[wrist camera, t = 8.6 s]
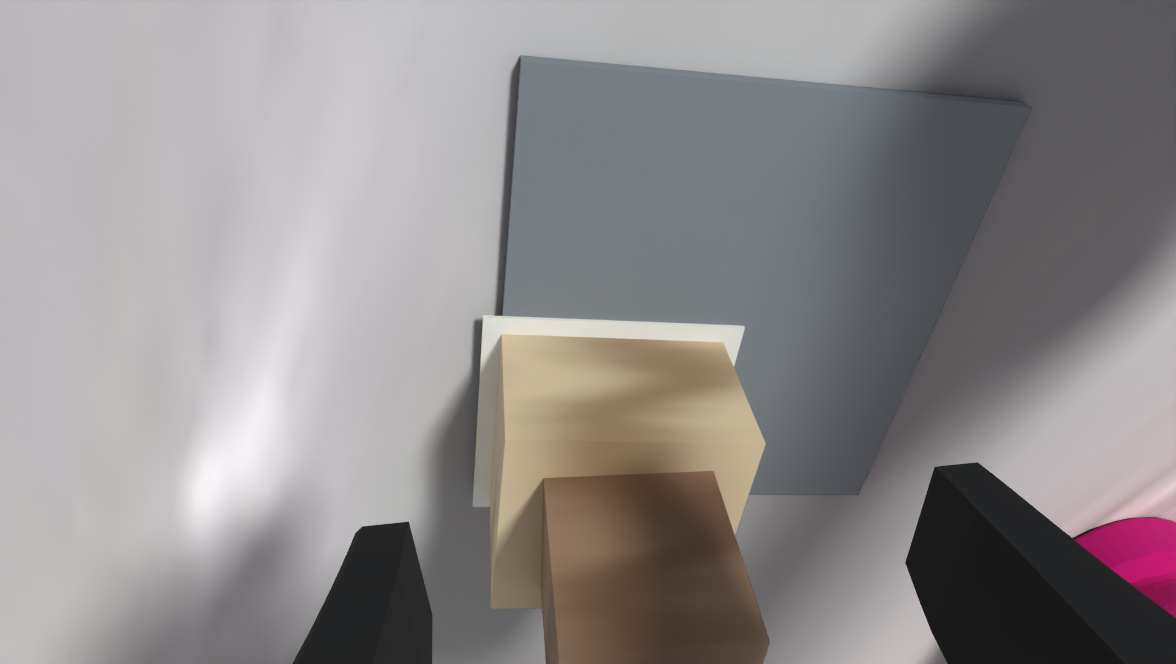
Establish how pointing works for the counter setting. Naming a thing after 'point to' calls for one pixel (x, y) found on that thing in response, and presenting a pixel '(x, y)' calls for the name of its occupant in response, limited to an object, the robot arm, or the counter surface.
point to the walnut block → (645, 573)
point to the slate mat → (747, 239)
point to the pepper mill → (1139, 555)
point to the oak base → (607, 432)
